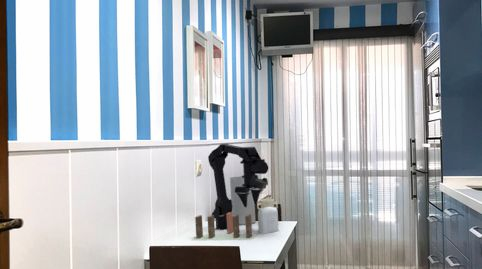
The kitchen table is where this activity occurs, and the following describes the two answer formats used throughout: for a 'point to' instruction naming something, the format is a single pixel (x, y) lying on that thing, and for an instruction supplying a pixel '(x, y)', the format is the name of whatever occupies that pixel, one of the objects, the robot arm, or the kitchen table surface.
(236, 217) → the domino
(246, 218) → the domino
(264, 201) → the character mug
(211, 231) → the domino
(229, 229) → the red domino
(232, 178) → the cylinder vase
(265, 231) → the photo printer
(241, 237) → the sage board
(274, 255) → the kitchen table surface
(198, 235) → the domino
